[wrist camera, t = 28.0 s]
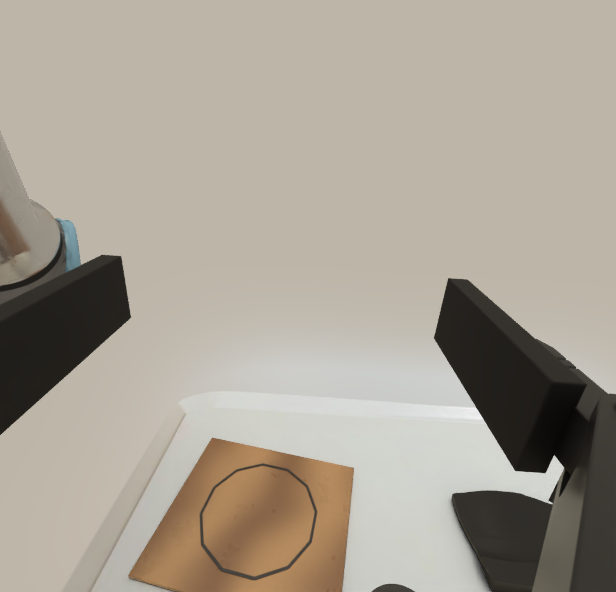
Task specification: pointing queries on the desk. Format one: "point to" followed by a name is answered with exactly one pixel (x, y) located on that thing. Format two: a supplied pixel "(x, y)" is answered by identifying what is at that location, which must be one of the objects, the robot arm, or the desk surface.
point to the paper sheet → (252, 525)
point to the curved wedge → (505, 535)
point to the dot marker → (392, 588)
